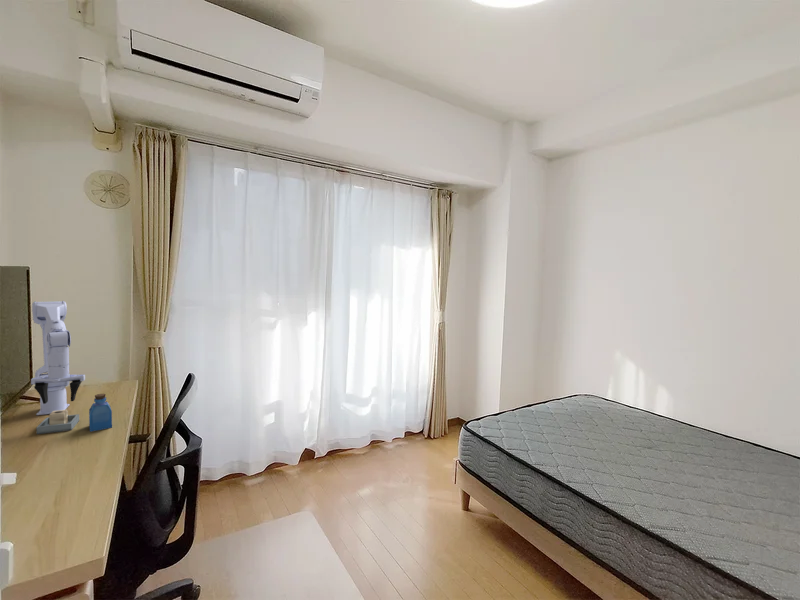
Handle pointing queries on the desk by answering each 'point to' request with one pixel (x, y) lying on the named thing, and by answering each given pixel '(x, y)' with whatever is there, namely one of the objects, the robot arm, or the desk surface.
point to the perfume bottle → (100, 414)
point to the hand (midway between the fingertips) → (59, 401)
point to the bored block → (58, 417)
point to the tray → (57, 425)
